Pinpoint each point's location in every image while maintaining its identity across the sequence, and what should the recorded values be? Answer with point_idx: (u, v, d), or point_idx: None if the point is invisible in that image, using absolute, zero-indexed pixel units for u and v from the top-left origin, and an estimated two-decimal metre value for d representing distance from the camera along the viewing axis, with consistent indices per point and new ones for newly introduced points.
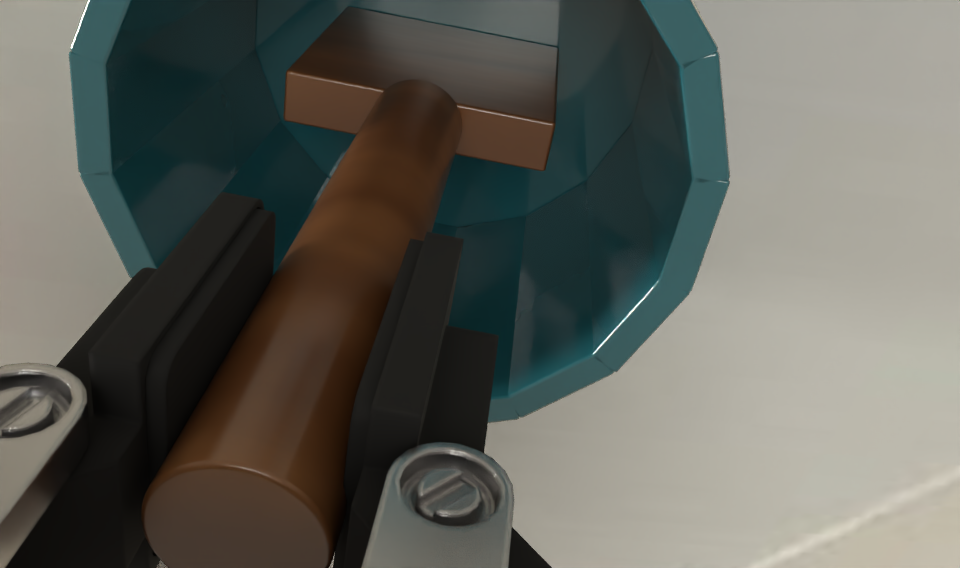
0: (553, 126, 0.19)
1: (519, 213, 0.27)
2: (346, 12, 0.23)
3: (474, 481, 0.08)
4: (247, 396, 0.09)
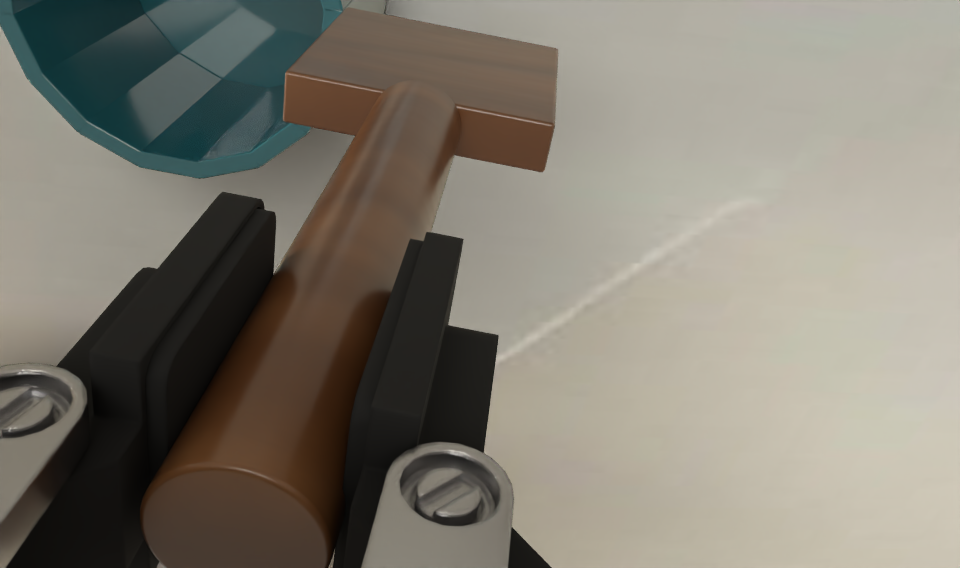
0: (552, 127, 0.19)
1: None
2: (346, 13, 0.23)
3: (474, 481, 0.08)
4: (246, 397, 0.09)
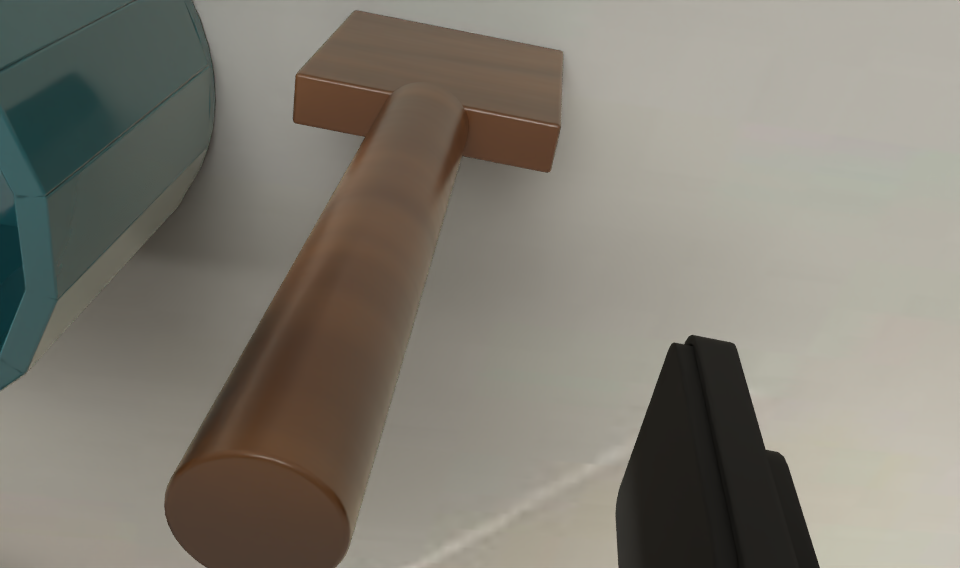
0: (558, 128, 0.19)
1: None
2: (353, 16, 0.23)
3: None
4: (266, 389, 0.09)
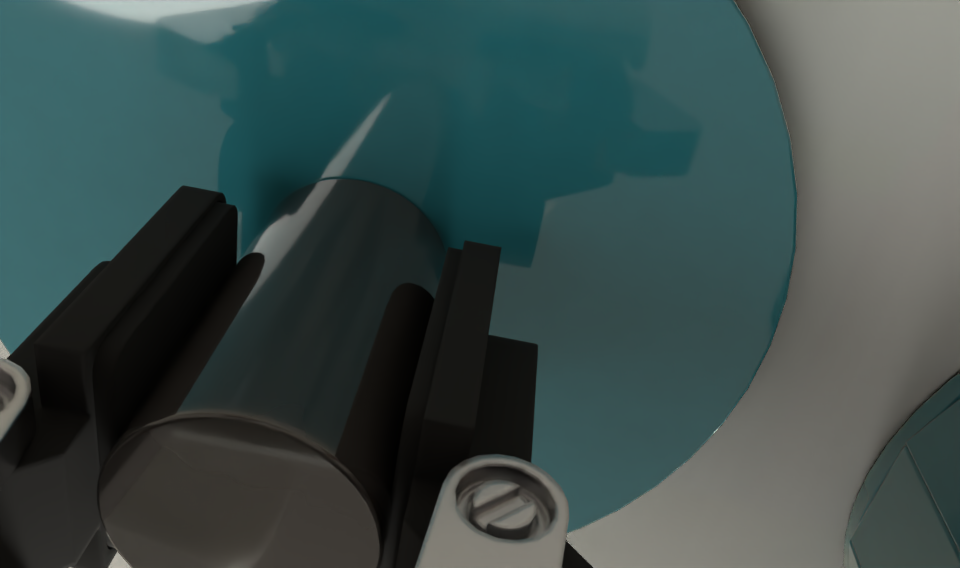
0: None
1: None
2: None
3: (530, 496, 0.08)
4: None
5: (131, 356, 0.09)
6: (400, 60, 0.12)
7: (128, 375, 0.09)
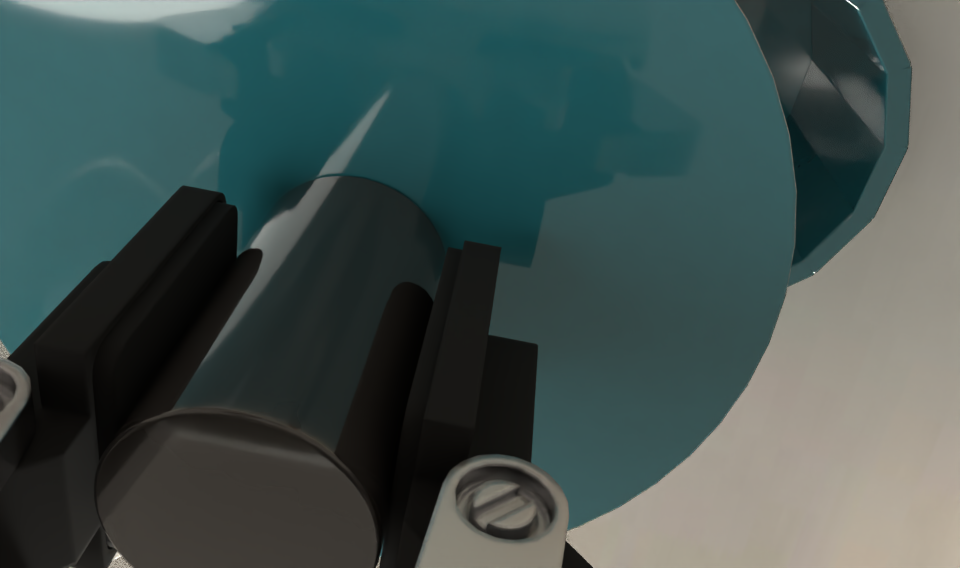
0: None
1: (808, 8, 0.32)
2: None
3: (529, 495, 0.08)
4: None
5: (131, 356, 0.09)
6: (398, 56, 0.12)
7: (128, 375, 0.09)
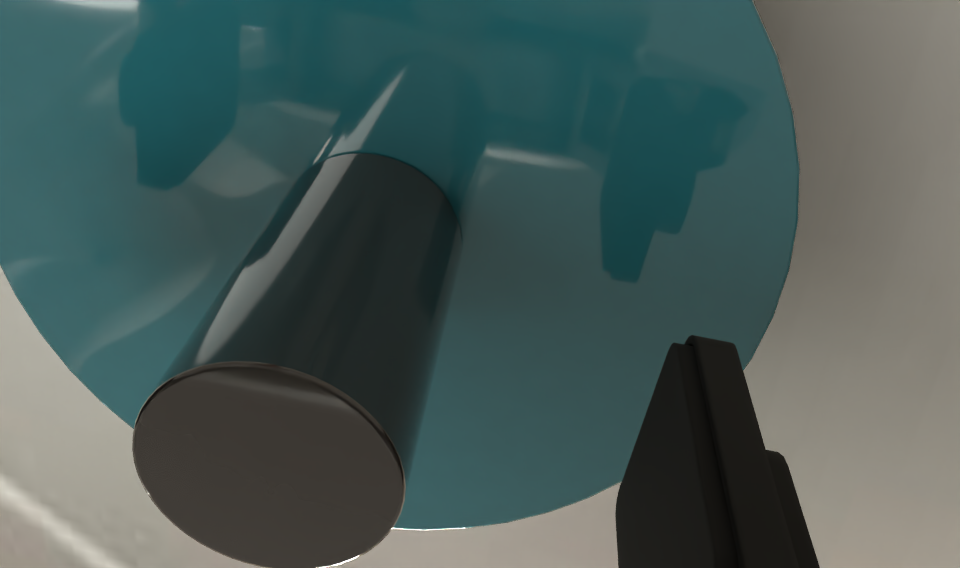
0: None
1: None
2: None
3: None
4: None
5: None
6: (416, 36, 0.12)
7: None
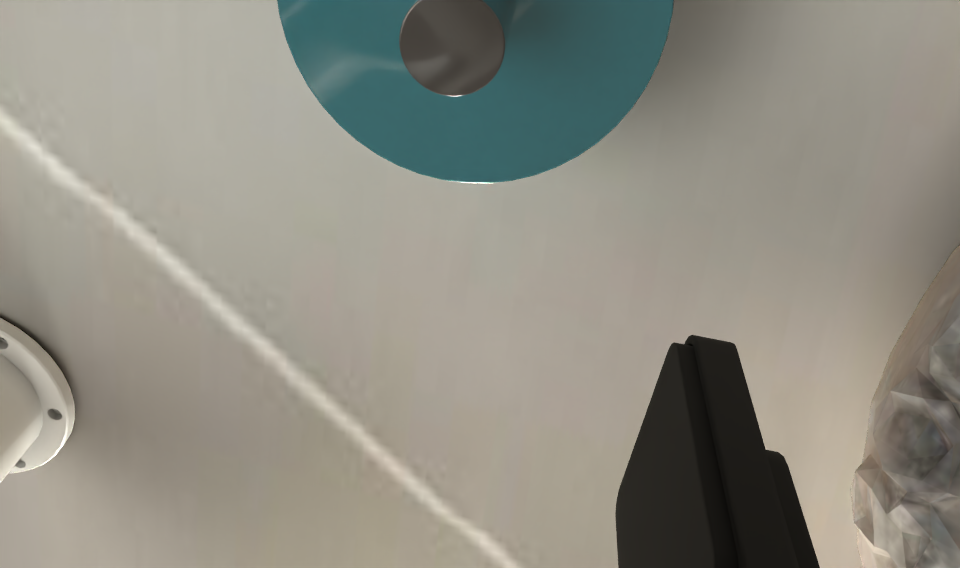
0: None
1: None
2: None
3: None
4: None
5: None
6: None
7: None
